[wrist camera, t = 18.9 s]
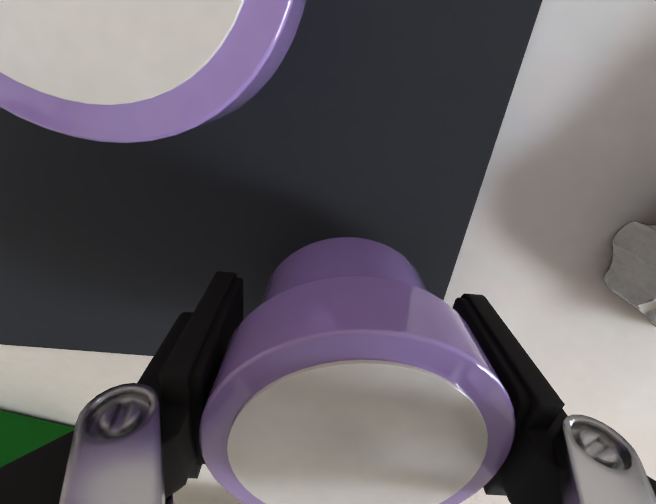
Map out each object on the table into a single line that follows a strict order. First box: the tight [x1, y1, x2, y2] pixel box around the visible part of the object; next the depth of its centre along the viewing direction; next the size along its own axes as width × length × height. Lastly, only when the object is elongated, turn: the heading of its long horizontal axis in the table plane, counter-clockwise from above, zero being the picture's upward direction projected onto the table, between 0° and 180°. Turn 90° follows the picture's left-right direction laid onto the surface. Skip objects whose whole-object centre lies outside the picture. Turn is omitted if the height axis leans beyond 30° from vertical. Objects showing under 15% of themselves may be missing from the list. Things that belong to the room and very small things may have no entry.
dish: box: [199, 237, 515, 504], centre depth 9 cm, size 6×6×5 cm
